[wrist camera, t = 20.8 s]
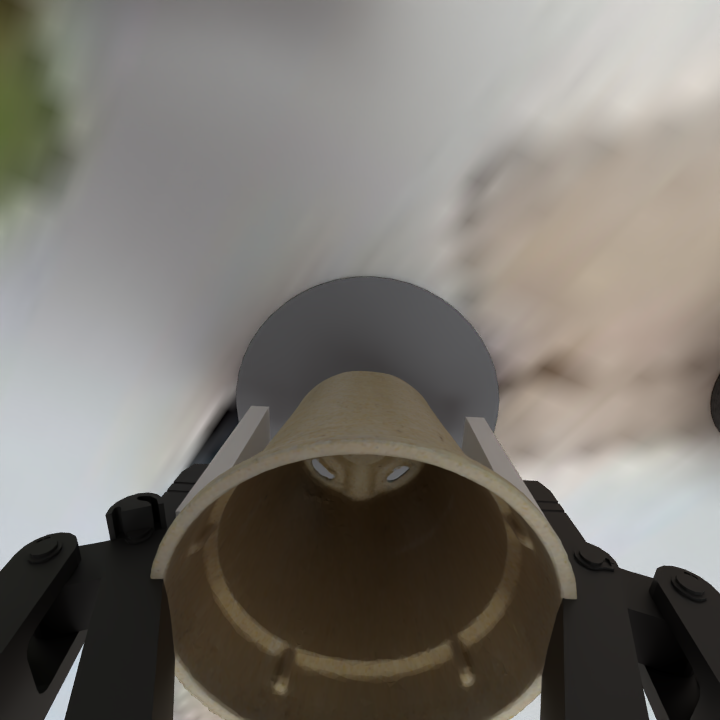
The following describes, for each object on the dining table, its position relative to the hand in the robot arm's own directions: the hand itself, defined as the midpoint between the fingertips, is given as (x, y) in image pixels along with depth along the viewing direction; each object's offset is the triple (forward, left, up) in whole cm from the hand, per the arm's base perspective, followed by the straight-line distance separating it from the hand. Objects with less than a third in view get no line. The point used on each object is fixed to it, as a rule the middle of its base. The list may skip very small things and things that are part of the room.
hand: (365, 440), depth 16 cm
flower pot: (0, 0, -1) cm, 1 cm away
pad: (0, 0, -3) cm, 3 cm away
